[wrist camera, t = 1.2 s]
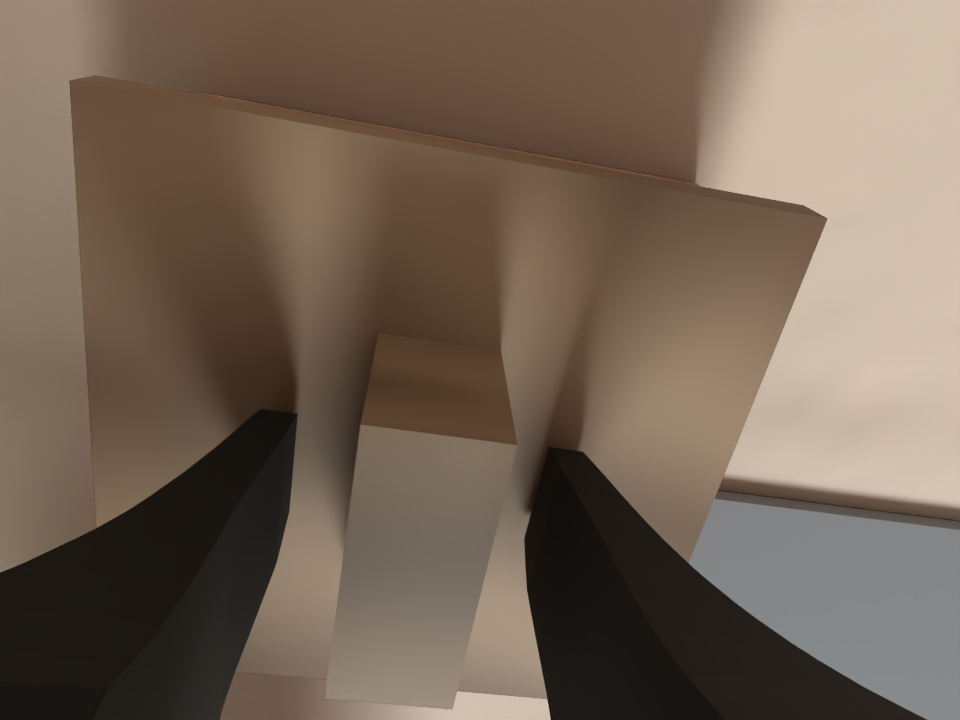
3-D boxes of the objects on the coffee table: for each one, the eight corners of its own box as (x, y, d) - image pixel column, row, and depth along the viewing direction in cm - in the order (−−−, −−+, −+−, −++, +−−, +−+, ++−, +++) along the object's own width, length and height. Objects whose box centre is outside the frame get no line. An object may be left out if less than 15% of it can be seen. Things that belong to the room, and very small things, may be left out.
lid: (622, 675, 16) (667, 839, 13) (120, 629, 15) (32, 799, 12) (803, 205, 12) (943, 281, 8) (95, 75, 10) (-64, 106, 7)
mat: (925, 858, 27) (932, 870, 26) (534, 834, 25) (535, 846, 24) (1164, 547, 20) (1177, 557, 20) (660, 483, 18) (664, 492, 18)
